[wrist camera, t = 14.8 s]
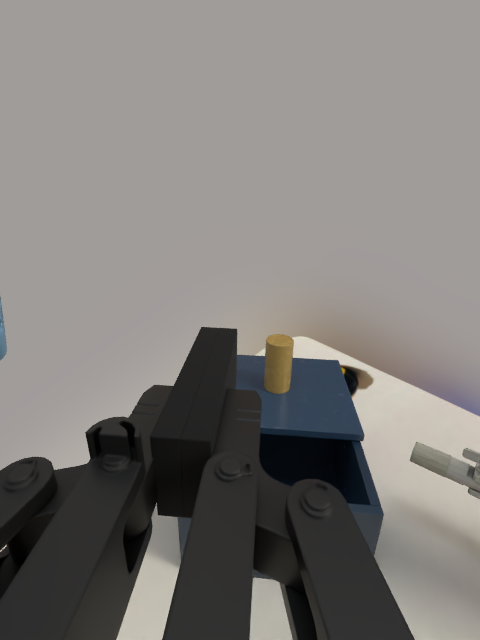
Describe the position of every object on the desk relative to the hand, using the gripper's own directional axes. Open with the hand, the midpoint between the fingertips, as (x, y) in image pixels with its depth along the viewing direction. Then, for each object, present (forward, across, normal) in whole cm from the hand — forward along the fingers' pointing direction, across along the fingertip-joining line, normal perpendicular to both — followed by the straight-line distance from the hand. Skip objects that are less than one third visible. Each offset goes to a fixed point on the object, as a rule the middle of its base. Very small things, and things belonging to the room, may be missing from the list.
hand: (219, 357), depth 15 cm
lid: (+21, +4, -16) cm, 27 cm away
